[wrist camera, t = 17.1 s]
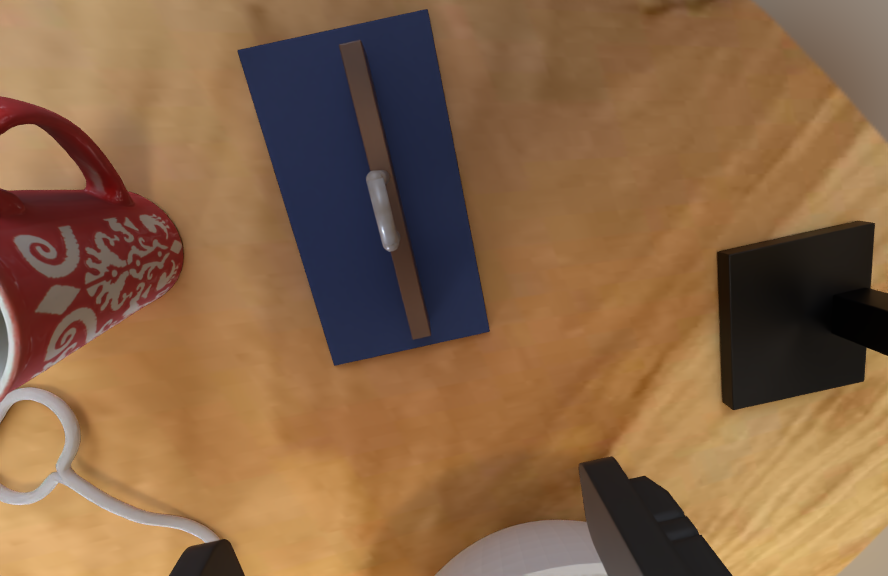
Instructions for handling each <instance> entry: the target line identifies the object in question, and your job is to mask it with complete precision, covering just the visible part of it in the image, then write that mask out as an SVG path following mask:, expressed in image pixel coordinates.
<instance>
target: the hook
mask: <svg viewBox="0 0 888 576" xmlns="http://www.w3.org/2000/svg"><path fill="white" fill-rule="evenodd" d="M20 400H34V401H37V402H39V403H42V404H44V405H45V406H47V407H48V408H49V409H51V410H52V411H53V412H54V413H55V414H56V415H57V417H58V418H59V420H60V421H61V423H62V425H63V428H64V431H65V446H64V449H63V452H62V454H61V455H60V457H59V459H58V461H57V464H56V469H57V472H53V473H51V474H50V475H49V476H48V477H47V478H46V479H45V480H44V482H43V483H42V484H41V485H40V486H39V487H38V488H37V489H36V490H34V491H31V492H25V493H24V492H17V491H14V490H11V489H9V488H7V487H5V486H4V485H2V484H1V483H0V501H2V502H4V503H8V504H13V505H26V504H31V503H35V502H37V501H39V500H41V499H43V498H44V497H45V496H47V495H48V494H49V493H50V492H51V491H52V490H53V489H54V488H55V486H56V485H57V484H58V483H62V484H64V485H66V486H68V487H69V488H71V489H73V490H74V491H76V492H77V493H79V494H80V495H82V496H83V497H85V498H86V499H88V500H89V501H91V502H93V503H94V504H96V505H98V506H100V507H101V508H103V509H105V510H108V511H110V512H112V513H114V514H116V515H119V516H121V517H123V518H126V519H128V520H131V521H134V522H137V523H141V524H146V525H153V526H162V527H170V528H175V529H180V530H183V531H186V532H188V533H191V534H193V535H195V536H197V537H199V538H200V539H202V540H203V541H204V542H205V543H208V542H213V541H217V540H220V538H219V537H218V536H217V535H216V534H215V533H214V532H213V531H212V530H210V529H209V528H208V527H206V526H204V525H202V524H200V523H198V522H196V521H194V520H191V519H189V518H185V517H180V516H175V515H168V514H160V513H153V512H148V511H145V510H142V509H139V508H136V507H134V506H131V505H129V504H127V503H125V502H122V501H120V500H118V499H116V498H114V497H112V496H110V495H108V494H107V493H105V492H103V491H102V490H100V489H98V488H97V487H95V486H94V485H92V484H91V483H89V482H88V481H86V480H85V479H83V478H82V477H80V476H79V475H77V474H76V473H75V471H74V470H73V469H72V468H71V463H72V461H73V459H74V458H75V456H76V453H77V451H78V448H79V445H80V440H81V431H80V426H79V422H78V420H77V418H76V415H75V414H74V412H73V411H72V409H71V408H70V407H69V406H68V404H67V403H66V402H65V401H63V400H62V399H61V398H60V397H58V396H57V395H55V394H53V393H51V392H49V391H46V390H43V389H39V388H31V387H27V388H19V389H16V390H13V391H12V392H10V393H9V394H7V395H6V396H5V398H4V399H3V400H2V401H1V402H0V423H1V421H2V420H3V418H4V416H5V415H6V413H7V412H8V410H9V408H10V407H11V406H12V405H13V404H14V403H15V402H17V401H20Z"/></svg>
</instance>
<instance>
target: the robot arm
mask: <svg viewBox="0 0 888 576" xmlns="http://www.w3.org/2000/svg"><path fill="white" fill-rule="evenodd" d="M579 475H580V482H581V489H582V496H583V503H584V510H585V516H586V522H587V526H588V529H589V533H590V536H591V539H592V542H593V544H594V547H595V549H596V551H597V554H598V556H599V558H600V560H601V562H602V564H603V566H604V569H605V571H606V573H607V575H608V576H732V574H731V573H730V572H729V571H728V569H727V568H726V567H725V565H724V564H723V563H722V561H721V560H720V559H719V558H718V556H717V555H716V554H715V552H714V551H713V550H712V548H711V547H710V546H709V544H708V543H707V542H706V541H705V539H704V538H703V537H702V535H699V533H698V531H697V529H696V528H695V526H694V525H693V524H692V522H691V521H690V520H689V518H688V517H687V516H685V515H684V512H683V511H682V509H681V508H680V507H679V505H678V504H677V503H676V501H675V500H674V499H673V498H672V496H671V495H670V494H669V492H668V491H667V490H665V489H664V488H662V487H661V486H659V485H658V484H656V483H655V482H653V481H652V480H650V479H649V478H647V477H646V476H642V477H637V478H633V479H628V477H627V476H626V474H625V473H624V471H623V470H622V468H621V467H620V465H619V464H618V462H617V461H616V459H615V458H614V457H606V458H602V459H597V460H592V461H588V462H583V463H580V464H579ZM169 576H245V575H244V572H243V570H242V568H241V566H240V563H239V561H238V559H237V557H236V554H235V552H234V550H233V547H232V545H231V543H230V542H229V541H228V540H226V539H222V540H217V541H213V542H208V543H203V544H199V545H194V546H191V547H188V548H187V549H186V550H185V551H184V552H183V554H182V555H181V557H180V558H179V560H178V562H177V563H176V565H175V567H174V568H173V570H172V572H171V573H170V575H169Z"/></svg>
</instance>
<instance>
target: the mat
mask: <svg viewBox="0 0 888 576" xmlns="http://www.w3.org/2000/svg"><path fill="white" fill-rule="evenodd" d="M357 40H361V42H362V44H363V46H364V49H365V51H366V54H367V58H368V62H369V67H370V71H371V75H372V79H373V84H374V88H375V92H376V96H377V101H378V105H379V109H380V113H381V117H382V122H383V126H384V130H385V134H386V139H387V143H388V147H389V151H390V156H391V160H392V164H393V168H394V172H395V177H396V181H397V185H398V189H399V194H400V198H401V202H402V206H403V211H404V215H405V219H406V223H407V227H408V232H409V236H410V240H411V244H412V249H413V253H414V257H415V261H416V266H417V270H418V274H419V278H420V282H421V287H422V291H423V295H424V299H425V304H426V308H427V312H428V316H429V321H430V329H431V336H428V337H423V338H419V339H414V340H413V339H412V335H411V331H410V327H409V323H408V319H407V315H406V311H405V307H404V303H403V299H402V295H401V291H400V287H399V284H398V280H397V276H396V272H395V268H394V264H393V260H392V256H391V252H390V251H387V250H386V249H384V247H383V245H382V241H381V237H380V233H379V229H378V225H377V221H376V217H375V214H374V210H373V206H372V202H371V198H370V194H369V190H368V186H367V182H366V176H367V174H368V173H369V172H370V168H369V164H368V160H367V156H366V152H365V148H364V144H363V140H362V136H361V132H360V128H359V124H358V120H357V116H356V112H355V108H354V104H353V100H352V96H351V92H350V88H349V84H348V80H347V76H346V73H345V69H344V65H343V61H342V57H341V53H340V49H339V45H340V44H343V43H348V42H352V41H357ZM238 54H239V57H240V61H241V64H242V67H243V70H244V74H245V77H246V80H247V83H248V87H249V90H250V93H251V96H252V100H253V103H254V106H255V109H256V113H257V116H258V119H259V122H260V126H261V129H262V132H263V135H264V139H265V142H266V145H267V148H268V152H269V155H270V158H271V161H272V165H273V168H274V171H275V174H276V178H277V181H278V184H279V187H280V191H281V194H282V197H283V200H284V204H285V207H286V210H287V213H288V217H289V220H290V223H291V226H292V230H293V233H294V236H295V239H296V243H297V246H298V249H299V252H300V256H301V259H302V262H303V265H304V269H305V272H306V275H307V278H308V282H309V285H310V288H311V291H312V295H313V298H314V301H315V304H316V308H317V311H318V314H319V317H320V321H321V324H322V327H323V330H324V334H325V337H326V340H327V343H328V347H329V350H330V353H331V356H332V360H333V363H334V366H335V365H340V364H344V363H349V362H353V361H358V360H362V359H367V358H372V357H376V356H381V355H385V354H390V353H394V352H399V351H403V350H408V349H413V348H417V347H422V346H426V345H431V344H435V343H440V342H444V341H449V340H453V339H458V338H463V337H467V336H472V335H476V334H481V333H485V332H489V331H490V330H489V325H488V320H487V314H486V309H485V304H484V299H483V294H482V289H481V283H480V278H479V273H478V268H477V263H476V257H475V252H474V247H473V242H472V237H471V232H470V226H469V221H468V216H467V211H466V206H465V201H464V195H463V190H462V185H461V180H460V175H459V169H458V164H457V159H456V154H455V149H454V144H453V138H452V133H451V128H450V123H449V118H448V113H447V107H446V102H445V97H444V92H443V87H442V81H441V76H440V71H439V66H438V61H437V56H436V50H435V45H434V40H433V35H432V30H431V24H430V19H429V14H428V10H427V9H425V10H421V11H416V12H412V13H407V14H402V15H398V16H393V17H389V18H384V19H379V20H375V21H370V22H366V23H361V24H356V25H352V26H347V27H342V28H338V29H333V30H329V31H324V32H319V33H315V34H310V35H306V36H301V37H296V38H292V39H287V40H283V41H278V42H273V43H269V44H264V45H259V46H255V47H250V48H246V49H241V50H238Z"/></svg>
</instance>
